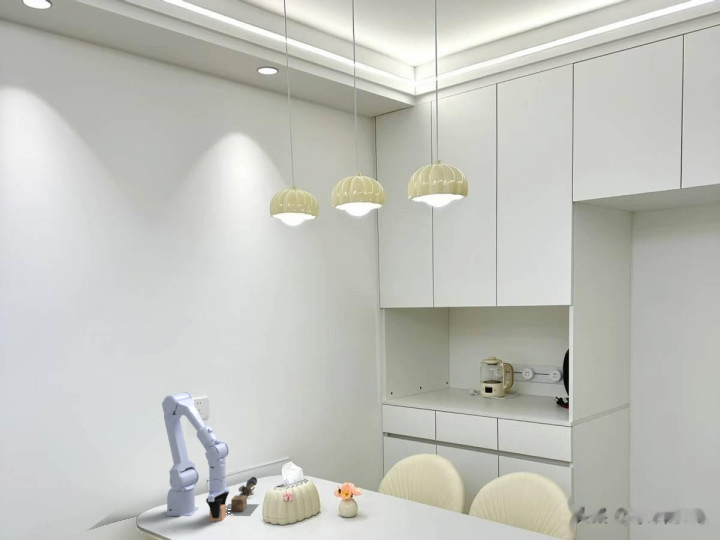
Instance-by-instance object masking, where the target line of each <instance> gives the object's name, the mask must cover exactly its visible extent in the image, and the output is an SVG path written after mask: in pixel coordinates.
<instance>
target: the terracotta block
mask: <svg viewBox="0 0 720 540" xmlns="http://www.w3.org/2000/svg"><path fill="white" fill-rule="evenodd" d="M226 506H227V505H226V504H225V505H221V506H220V513H219V518H212V514H211V510H210V509H209V521H210V522H222V521H224V519H226V518H227V516H226Z"/></svg>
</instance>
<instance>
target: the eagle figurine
mask: <svg viewBox="0 0 720 540" xmlns="http://www.w3.org/2000/svg"><path fill="white" fill-rule="evenodd" d="M257 483H258V479H257V478H256V477H255V476H252V477H250V479H248V480H246V484H245V485H244V484H242V485H241V486H240V487H239V488H238V492H239V493H243V494H245V496H247V498H248V497H249V496H250V494H251V495H255V493H254V489H256V488H255V486H256V485H257ZM243 494H242V495H243Z"/></svg>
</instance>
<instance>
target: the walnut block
mask: <svg viewBox="0 0 720 540" xmlns="http://www.w3.org/2000/svg"><path fill="white" fill-rule="evenodd" d="M247 498H248V497H247V496H246V495H236V494H234V496H233V497H232V498H231V499H230V501H231V503H230V504H231V512H244V510H245V509H246V508H247V504H248V501H247V500H248V499H247Z"/></svg>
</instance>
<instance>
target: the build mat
mask: <svg viewBox="0 0 720 540" xmlns="http://www.w3.org/2000/svg"><path fill="white" fill-rule="evenodd" d="M259 505H260V504H258V503H257V504H255V503H247V508H246V509H245V510H244V512H231V510H228V509H231V503H228V504H227V505H226V508H227V509H226V513H227V514H226V515H227V516H226V517H228V515H231V514H233V515H234V517H235V516H236V517H238V516H239V517H251V515H252V514H253V513H254V512H255V511H256V510H257V508H258V507H259ZM228 512H230V513H228ZM233 515H231V516H233ZM231 516H230V517H231Z"/></svg>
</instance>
